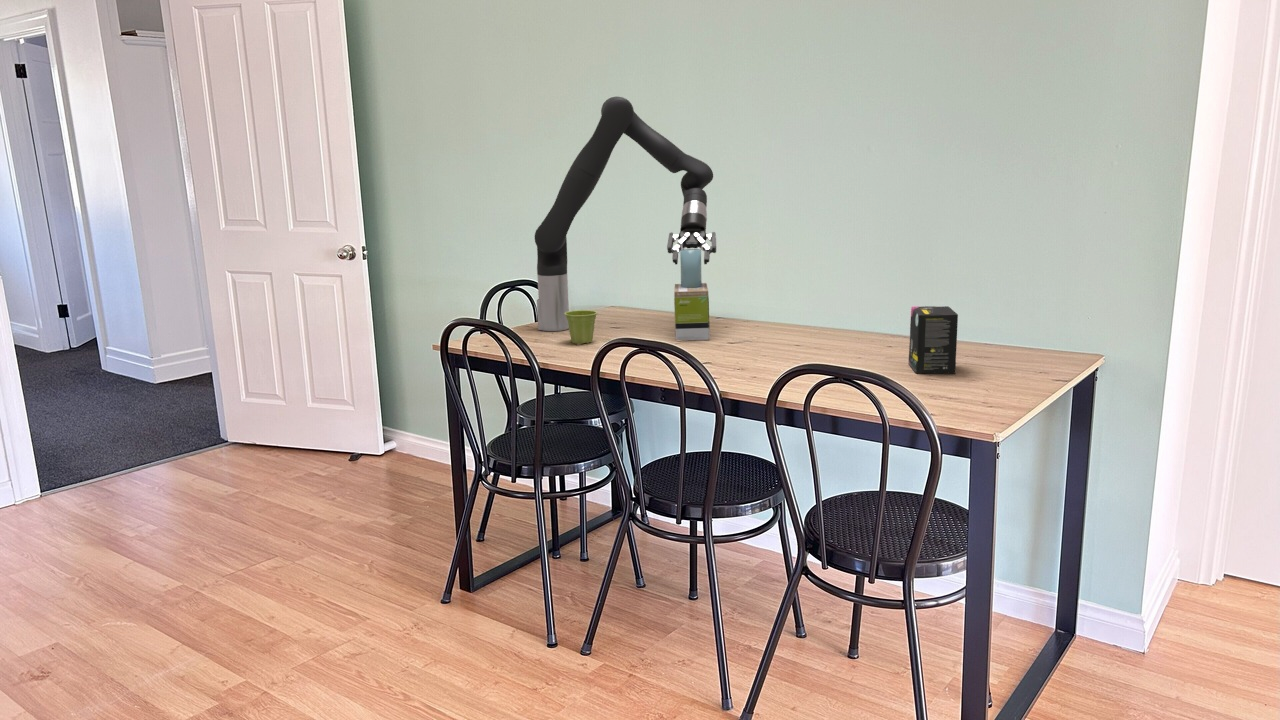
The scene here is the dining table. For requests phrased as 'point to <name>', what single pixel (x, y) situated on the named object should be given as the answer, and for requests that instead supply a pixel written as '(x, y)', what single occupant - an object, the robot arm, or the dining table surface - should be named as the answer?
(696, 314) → the tea box
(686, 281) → the light blue rounded cylinder
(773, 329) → the dining table surface
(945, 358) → the tampon box
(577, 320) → the plant pot
